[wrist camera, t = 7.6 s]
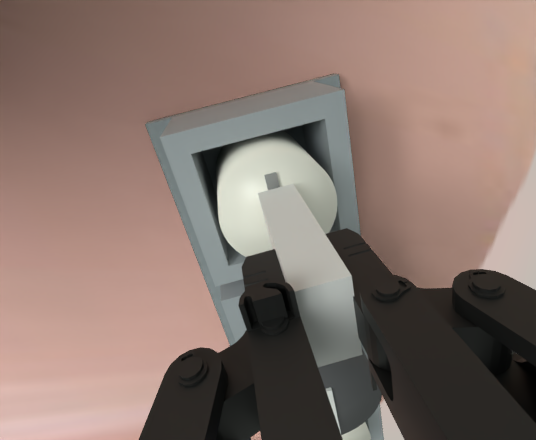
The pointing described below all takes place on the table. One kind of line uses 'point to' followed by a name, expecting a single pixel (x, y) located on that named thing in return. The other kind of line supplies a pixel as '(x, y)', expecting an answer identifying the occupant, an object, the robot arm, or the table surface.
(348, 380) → the black dial
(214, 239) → the mount
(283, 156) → the knob
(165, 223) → the table surface
